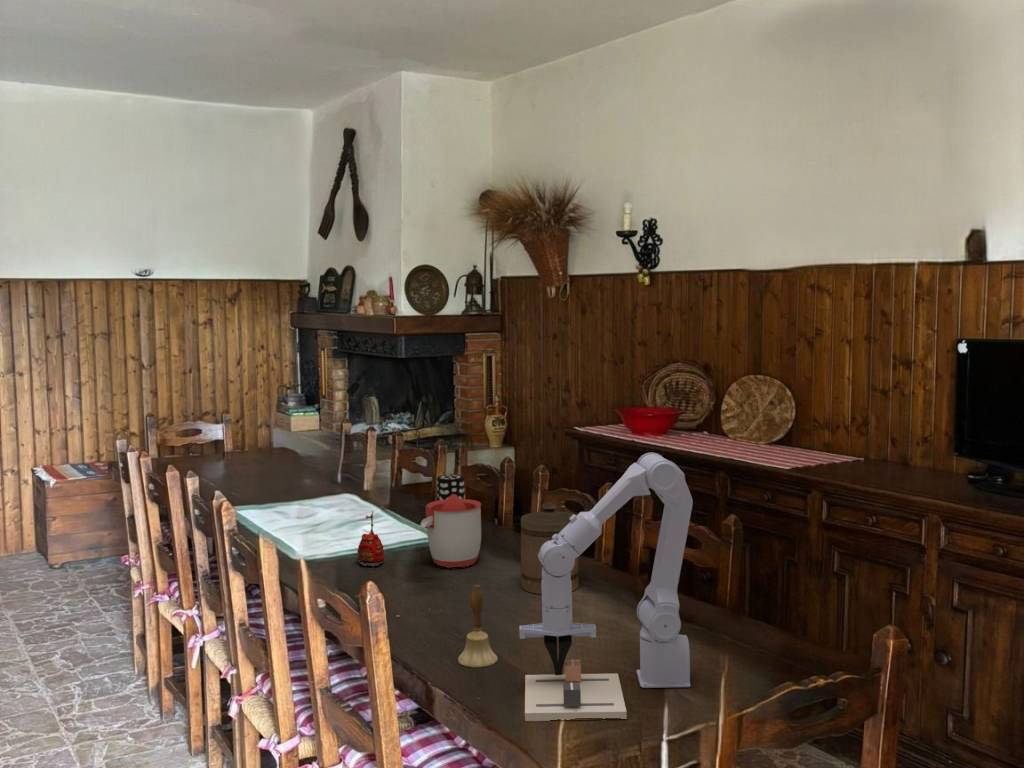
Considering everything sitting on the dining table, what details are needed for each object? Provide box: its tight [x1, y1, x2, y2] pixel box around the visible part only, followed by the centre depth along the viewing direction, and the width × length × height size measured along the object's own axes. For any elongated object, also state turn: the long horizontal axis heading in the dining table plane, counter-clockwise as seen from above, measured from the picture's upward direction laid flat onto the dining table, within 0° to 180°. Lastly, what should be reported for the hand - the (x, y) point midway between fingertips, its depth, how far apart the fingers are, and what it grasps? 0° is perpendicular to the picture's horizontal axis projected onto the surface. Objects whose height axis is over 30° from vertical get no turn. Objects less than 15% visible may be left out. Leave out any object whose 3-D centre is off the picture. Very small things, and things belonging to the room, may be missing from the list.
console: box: [524, 672, 628, 722], centre depth 179 cm, size 18×17×2 cm
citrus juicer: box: [420, 494, 482, 568], centre depth 270 cm, size 16×17×20 cm
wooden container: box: [520, 501, 580, 595], centre depth 247 cm, size 15×15×22 cm
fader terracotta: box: [564, 658, 582, 681], centre depth 184 cm, size 3×3×3 cm
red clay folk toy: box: [357, 510, 385, 563], centre depth 271 cm, size 8×7×15 cm
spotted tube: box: [436, 474, 466, 501], centre depth 294 cm, size 8×8×20 cm
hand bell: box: [457, 584, 499, 668], centre depth 199 cm, size 8×8×16 cm
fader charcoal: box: [563, 683, 581, 706], centre depth 173 cm, size 3×3×3 cm
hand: (558, 673), depth 184 cm, fingers closed
